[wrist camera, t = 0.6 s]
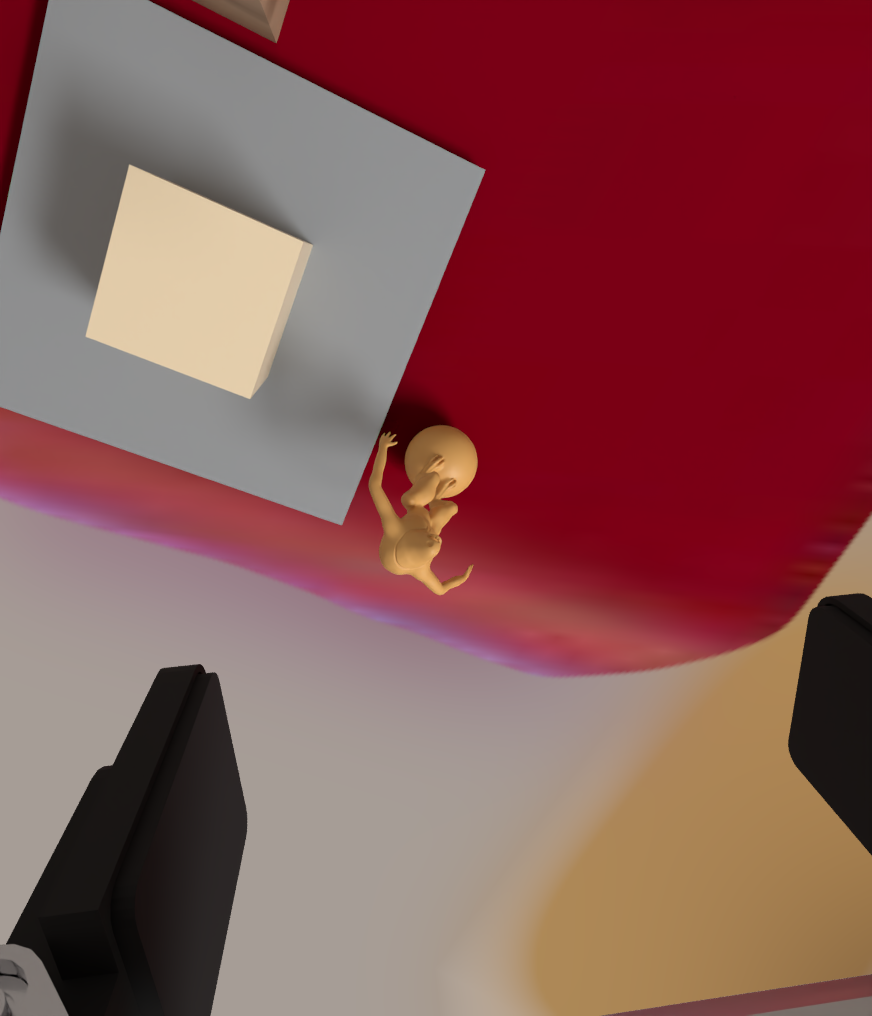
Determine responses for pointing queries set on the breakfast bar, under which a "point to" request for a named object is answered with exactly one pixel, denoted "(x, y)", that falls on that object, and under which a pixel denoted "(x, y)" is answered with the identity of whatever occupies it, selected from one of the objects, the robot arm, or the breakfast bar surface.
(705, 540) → the breakfast bar surface
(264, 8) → the walnut cube
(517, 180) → the breakfast bar surface
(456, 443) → the figurine
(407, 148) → the base plate
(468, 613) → the breakfast bar surface
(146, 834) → the robot arm
